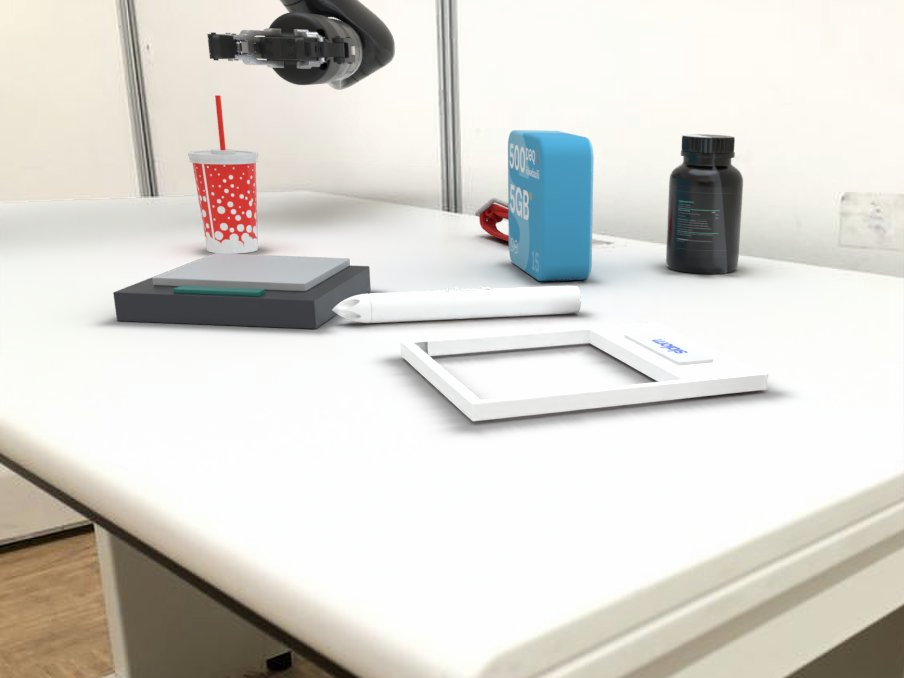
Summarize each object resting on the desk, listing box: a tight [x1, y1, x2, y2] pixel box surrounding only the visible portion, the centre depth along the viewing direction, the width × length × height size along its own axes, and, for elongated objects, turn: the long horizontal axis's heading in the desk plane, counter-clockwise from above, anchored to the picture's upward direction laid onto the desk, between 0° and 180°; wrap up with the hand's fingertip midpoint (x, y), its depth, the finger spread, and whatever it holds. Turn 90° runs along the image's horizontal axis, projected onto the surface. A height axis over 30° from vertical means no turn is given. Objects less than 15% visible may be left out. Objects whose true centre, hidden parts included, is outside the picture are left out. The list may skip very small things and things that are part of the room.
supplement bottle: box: [665, 133, 744, 275], centre depth 102 cm, size 7×7×12 cm
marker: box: [332, 285, 582, 324], centre depth 80 cm, size 18×2×2 cm, turn 111°
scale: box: [112, 253, 372, 330], centre depth 83 cm, size 14×14×3 cm
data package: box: [507, 129, 595, 282], centre depth 98 cm, size 12×4×12 cm, turn 20°
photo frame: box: [399, 321, 769, 422], centre depth 67 cm, size 15×1×18 cm
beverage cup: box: [187, 94, 259, 254], centre depth 103 cm, size 6×6×14 cm
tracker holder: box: [474, 197, 509, 243], centre depth 116 cm, size 12×4×10 cm
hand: (258, 47), depth 110 cm, fingers open, 8 cm apart
